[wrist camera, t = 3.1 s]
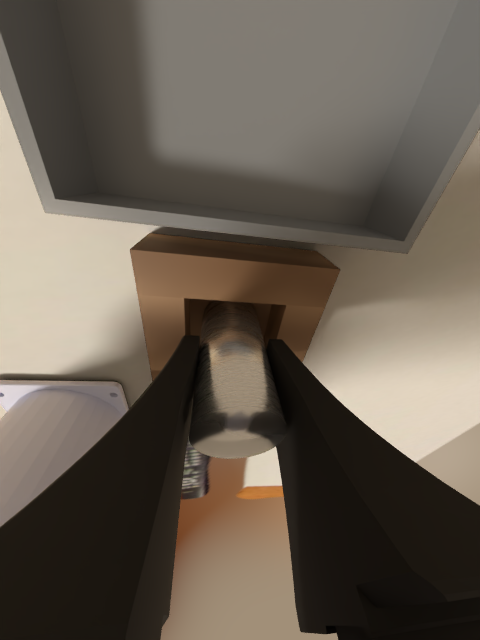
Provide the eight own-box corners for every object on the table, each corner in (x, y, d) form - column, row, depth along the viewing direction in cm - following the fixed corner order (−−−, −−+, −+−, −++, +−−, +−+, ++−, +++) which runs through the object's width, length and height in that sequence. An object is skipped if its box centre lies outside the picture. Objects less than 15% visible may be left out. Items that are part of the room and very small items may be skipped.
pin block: (280, 363, 15) (289, 393, 13) (164, 359, 14) (154, 392, 12) (316, 251, 10) (340, 269, 8) (149, 233, 9) (129, 249, 7)
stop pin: (252, 339, 13) (275, 456, 7) (202, 337, 12) (189, 459, 7) (260, 296, 11) (298, 408, 6) (203, 292, 11) (188, 408, 5)
